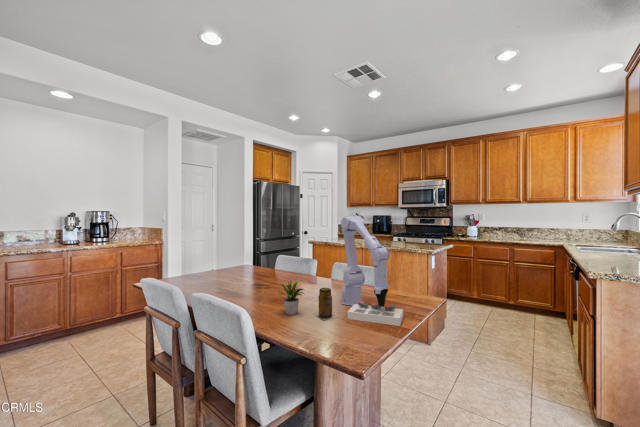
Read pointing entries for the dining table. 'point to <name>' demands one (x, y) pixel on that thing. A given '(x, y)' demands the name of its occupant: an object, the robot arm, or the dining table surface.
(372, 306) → the rocker middle
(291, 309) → the house plant
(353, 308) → the power strip
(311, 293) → the dining table surface
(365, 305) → the rocker left
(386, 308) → the rocker right
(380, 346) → the dining table surface
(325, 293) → the condiment
